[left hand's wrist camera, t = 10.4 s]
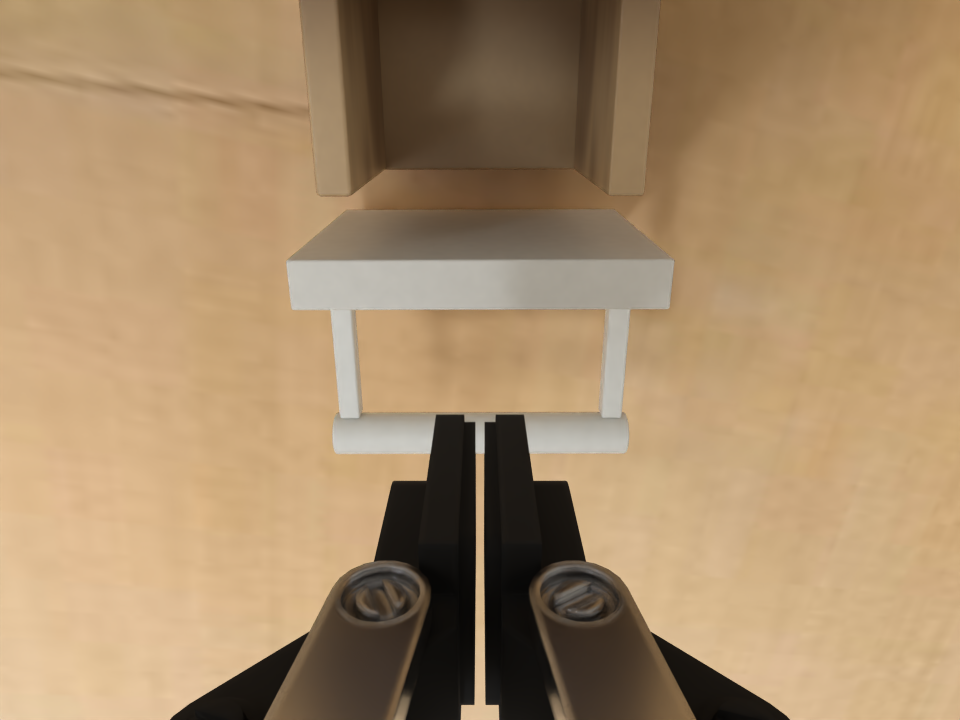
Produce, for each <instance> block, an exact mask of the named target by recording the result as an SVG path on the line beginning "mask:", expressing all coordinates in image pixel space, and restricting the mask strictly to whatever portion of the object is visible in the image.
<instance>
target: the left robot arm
mask: <svg viewBox="0 0 960 720" xmlns="http://www.w3.org/2000/svg"><path fill="white" fill-rule="evenodd" d="M475 588H476V428H475V422H465V417H464V414H436V418H435V425H434V432H433V440H432V447H431V454H430V461H429V468H428V476H427V481H393V482H392V486H391V490H390V494H389V498H388V503H387V507H386V511H385V516H384V520H383V525H382V529H381V533H380V538H379V542H378V546H377V551H376V555H375V560H374V562H371V563H366V564H363V565H361V566H358V567H356V568H354V569H351V570H350V571H349V572H347V573H346V574H344V575H343V576H342V577H340V578H339V580H338V581H337V582H336V584H335V585H334V586H333V588H332V590H331V591H330V593H329V595H328V597H327V599H326V601H325V603H324V605H323V607H322V609H321V611H320V613H319V614H318V616H317V618H316V620H315V622H314V624H313V626H312V628H311V630H310V632H308V633H306V634H305V635H303V636H301V637H300V638H298V639H296V640H295V641H293V642H291V643H290V644H288V645H286V646H285V647H283V648H281V649H280V650H278V651H276V652H275V653H273V654H272V655H270V656H268V657H267V658H265V659H263V660H262V661H260V662H258V663H257V664H255V665H253V666H252V667H250V668H248V669H247V670H245V671H243V672H242V673H240V674H238V675H237V676H235V677H233V678H232V679H230V680H228V681H227V682H225V683H223V684H222V685H220V686H218V687H217V688H215V689H214V690H212V691H210V692H209V693H207V694H205V695H204V696H202V697H200V698H199V699H197V700H195V701H194V702H192V703H190V704H189V705H188V706H186V707H185V708H184V709H182V710H181V711H180V712H178V713H177V714H176V715H174V716H173V717H172V718H171V719H170V720H461V705H474V697H475ZM484 588H485V697H486V705H499V720H790V719H789V718H788V717H787V716H786V715H784V714H783V713H782V712H780V711H779V710H778V709H776V708H775V707H774V706H772V705H771V704H770V703H768V702H766V701H765V700H763V699H761V698H760V697H758V696H756V695H755V694H753V693H751V692H750V691H748V690H746V689H745V688H743V687H742V686H740V685H738V684H737V683H735V682H733V681H732V680H730V679H728V678H727V677H725V676H723V675H722V674H720V673H718V672H717V671H715V670H713V669H712V668H710V667H708V666H707V665H705V664H703V663H702V662H700V661H698V660H697V659H695V658H693V657H692V656H690V655H688V654H687V653H685V652H684V651H682V650H680V649H679V648H677V647H675V646H674V645H672V644H670V643H669V642H667V641H665V640H664V639H662V638H660V637H659V636H657V635H655V634H654V633H652V632H650V630H649V628H648V626H647V624H646V622H645V620H644V618H643V616H642V614H641V613H640V611H639V609H638V607H637V605H636V603H635V601H634V599H633V597H632V595H631V593H630V591H629V590H628V588H627V586H626V585H625V584H624V582H623V581H622V580H621V578H620V577H618V576H617V575H615V574H614V573H613V572H611V571H610V570H609V569H606V568H604V567H602V566H599V565H597V564H594V563H589V562H586V560H585V555H584V551H583V546H582V542H581V538H580V533H579V529H578V525H577V520H576V516H575V511H574V507H573V503H572V498H571V494H570V490H569V486H568V482H567V481H533V476H532V468H531V461H530V454H529V447H528V440H527V432H526V425H525V418H524V414H496V417H495V422H485V428H484Z"/></svg>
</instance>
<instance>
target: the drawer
mask: <svg viewBox="0 0 960 720" xmlns="http://www.w3.org/2000/svg"><path fill="white" fill-rule="evenodd" d="M660 3H661V0H299V6H300V17H301V28H302V39H303V50H304V61H305V72H306V83H307V94H308V105H309V116H310V127H311V137H312V148H313V159H314V170H315V181H316V192H317V194H318V195H319V196H350V195H352V194H353V193H355V192H356V191H357V190H359V189H360V188H361V187H362V186H364V185H365V184H366V183H368V182H369V181H370V180H372V179H373V178H374V177H376V176H377V175H378V174H380V173H381V172H382V171H383V170H392V169H575V170H577V171H578V172H579V173H580V174H582V175H583V176H584V177H586V178H587V179H588V180H590V181H591V182H592V183H594V184H595V185H596V186H598V187H599V188H600V189H602V190H603V191H604V192H605V193H607V194H608V195H610V196H642V195H643V194H644V188H645V176H646V165H647V153H648V142H649V130H650V118H651V107H652V95H653V84H654V72H655V61H656V49H657V38H658V26H659V15H660ZM286 265H287V274H288V283H289V292H290V301H291V308H292V310H331V322H332V333H333V344H334V355H335V366H336V378H337V389H338V400H339V411H340V413H337V414H336V415H335V418H334V422H333V432H332V438H333V447H334V451H335V453H337V454H431V447H432V440H433V432H434V425H435V418H436V414H464V417H465V422H475V428H476V454H484V428H485V422H495V417H496V414H524V418H525V425H526V432H527V440H528V447H529V454H562V453H626V451H627V449H628V444H629V425H628V419H627V416H626V414H625V413H624V412H622V403H623V391H624V380H625V368H626V356H627V344H628V332H629V320H630V309H669V307H670V298H671V289H672V280H673V270H674V259H673V258H672V257H671V256H669V255H668V254H667V253H666V252H665V251H663V250H662V249H661V248H660V247H659V246H657V245H656V244H655V243H654V242H653V241H651V240H650V239H649V238H648V237H647V236H645V235H644V234H643V233H642V232H641V231H640V230H638V229H637V228H636V227H635V226H634V225H632V224H631V223H630V222H629V221H628V220H626V219H625V218H624V217H623V216H622V215H620V214H619V213H618V212H617V211H616V210H614V209H471V210H346V211H344V212H343V213H342V214H341V215H340V216H339V217H337V218H336V219H335V220H334V221H333V222H331V223H330V224H329V225H328V226H327V227H326V228H324V229H323V230H322V231H321V232H320V233H318V234H317V235H316V236H315V237H314V238H313V239H311V240H310V241H309V242H308V243H307V244H305V245H304V246H303V247H302V248H301V249H299V250H298V251H297V252H296V253H295V254H294V255H292V256H291V257H290V258H289V259H288V260H287V261H286ZM532 309H606V310H605V324H604V338H603V353H602V367H601V381H600V396H599V411H600V412H423V413H362V410H363V405H362V392H361V379H360V365H359V352H358V339H357V325H356V312H355V310H532Z"/></svg>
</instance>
